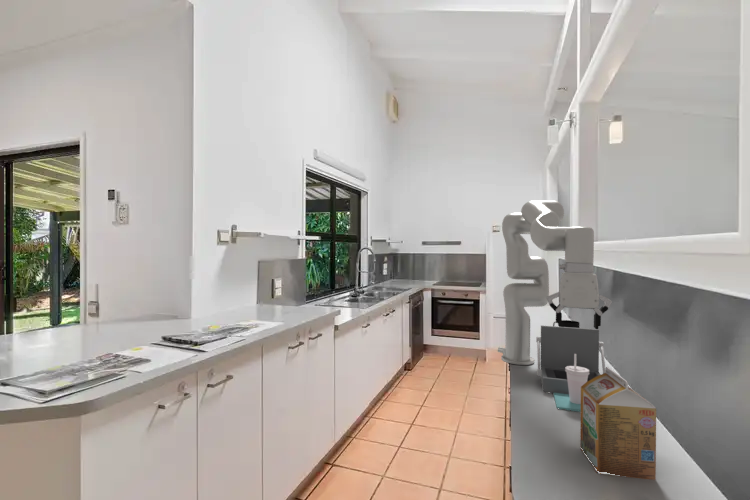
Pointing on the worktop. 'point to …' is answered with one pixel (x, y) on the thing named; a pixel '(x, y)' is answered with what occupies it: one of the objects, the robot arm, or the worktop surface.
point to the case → (567, 355)
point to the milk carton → (618, 427)
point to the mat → (566, 402)
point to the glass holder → (569, 324)
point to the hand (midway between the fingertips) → (577, 327)
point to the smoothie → (576, 381)
